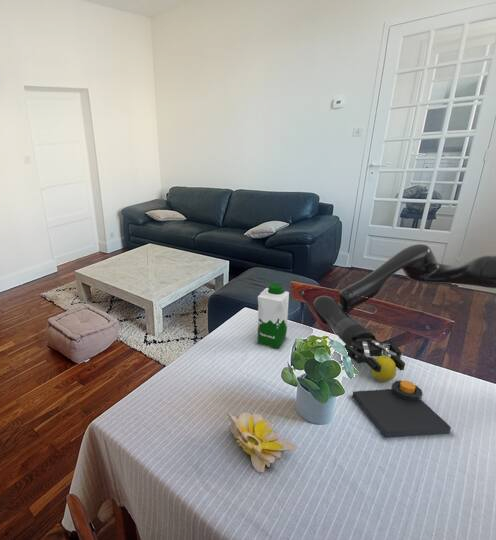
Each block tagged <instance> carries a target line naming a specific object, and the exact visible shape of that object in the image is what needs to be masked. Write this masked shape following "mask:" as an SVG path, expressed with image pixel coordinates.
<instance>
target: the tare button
mask: <svg viewBox="0 0 496 540" xmlns="http://www.w3.org/2000/svg"><path fill="white" fill-rule="evenodd" d="M400 381H401V382H400V387H399V388H400V390H401V391H403V392H406V393H410V394H411V393H414V392H415V385H416V384H415V383H413V382H411V381H408V380H400Z"/></svg>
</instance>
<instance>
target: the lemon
mask: <svg viewBox="0 0 496 540" xmlns="http://www.w3.org/2000/svg"><path fill="white" fill-rule="evenodd" d="M389 357H390V356H389ZM389 357H387V356H375V358H374V359H375V360H376V361H377V362H378V363H379V364H380V365H381V370H380V372H376V371H375V370H373V369H372V368H371V367H370V371H371V373H372V376H373V377H374V378H375V379H377V380H379V381H380V382H390V381H391V380H393V379H394V378H395V376H396V375H397V367H396V365H395V362H394V361H393V360H392V359H391V358H389Z"/></svg>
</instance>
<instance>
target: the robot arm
mask: <svg viewBox="0 0 496 540" xmlns="http://www.w3.org/2000/svg"><path fill="white" fill-rule="evenodd" d="M400 270H402V271H403V273H404V275H405V277H406V278H407V279H409V280H412V281H415V282H423V283H441V284H455V285H464V286H471V287H479V288H485V289H492V290H496V254H494V255H493V254H485V255H481V256H477V257H475V258H472V259H470V260H467V261H465V262H462V263H461V264H444V263H440V262H439V261H438V259H437V258H436V256H435V253H434V252H433V250H432V248H431V247H430V246H429V245H427V244H424V243H423V244H422V243H418V244H417V243H416V244H412V245H409V246H407V247H405V248H402V250H400V251H398V252H397V253H396V254H394V255H393V256H392V257H390V258H389V259H387V260H386V261H385V262H383V263H382V264H381V265H379V266H378V267H377V268H376V269H374V270H373V271H372V272H370V273H369V274H367V275H366V276H365V277H363V278H361V279H359V280H358V281H356V282H354V283H351V284H350V285H348V286H347V287H345V288H343V289H341V290H340V291H338V297H339V298H338V299H339V301H338V302H336V300H335V299H334V298H332V297H331V296H328V295H320V296H317V297H315V299H314V300H313V302H312V308H313V310H314V312H315V314H316V315H317V317H318V318H319V320H320V321H321V322H322V323H323V324H325V325H328V327H329V328H330V329H331V330H332V331H333V332H334V333H335V334H336V335H337V336H338V338H339V339H340V340H341V341H342V342H343V343H344V346H343V348H344V347H345V348H346V350H347V352H348V356H347V357H349V359H351V360H353V361H354V362H355V363H357V364H362V363H364V364H365V365H367V366H368V367H369V368H370V369H371V368H372V369H373V370H375V371H376V372H380V370H381V365H380V364H379V363H378V362H377V361H376V360H375V358H374V357H378V356H387V357H389V358H391V359H392V360H393V361H394V362H395V365H396V369H398V370H399V371H404V370H405V366H406V363H405V361H404V360H402V359H401V358H402V354H403V352H402V351H401V349H400V348H399V347H398V346H397V345H396V344H395V342H394V341H391V340H389V341H387V343H383V342H381V341H380V340H377V338H376V336H375V335H374V334H373V332H371V331H370V330H369V329H368V328H366V327H365V326H364V325H363V324H362V323H360V322H359V321H358V320H357V319H355V318H353V317H352V316H350V313H351V312H352V311H353V310H354V309H355V308H356V307H358V306H360V305H362V304H364V303H366V302H368V301H369V300H368V299H369V298H371V299H373V298H374V297H376V296H377V295H378V294H379V293H380V291H381V290H382V289H383V287H384V286H385V285H386V283H387V282H388V281H389V279H391V278H392V277H393V275H395V274H396V273H397V272H398V271H400ZM345 292H346V293H345ZM353 294H356V295H353ZM358 295H359V296H358ZM361 296H364V297H361ZM365 297H368V298H365ZM363 302H364V303H363ZM348 307H349V308H348ZM345 312H347V313H345Z"/></svg>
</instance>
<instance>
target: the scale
mask: <svg viewBox="0 0 496 540" xmlns="http://www.w3.org/2000/svg"><path fill="white" fill-rule="evenodd" d="M401 381H402V380H395V381H394V382H392V383H391V388H385V389H384V388H383V389H372V390H371V389H370V390H369V389H368V390H357V391H355V390H354V391H352V395H351V398H352V399H353V401H355V403H356V404H357V405H358V406H359V408H360V409H361V410H362V411H363V413H365V415H366V416H367V417H368V418H369V420H370V421H371V422H372V424H374V426H375V427H376V429H378V431H379V432H380V433H381V434H382V436H383V437H384V438H399V437H415V436H416V437H417V436H428V435H429V436H430V435H431V436H432V435H446V434H450V432H451V428H452V426H450V424H448V422H446V421H445V420H444V419H443V418H442V417H441V416H439V414H438V413H437V412H435V411H434V410H433V409H432V408H431V407H430V406H428V405H427V403H425V402H424V401H423V399H422V397H423V389H421V388H420V387H419V386H418V385H417V384H414V385H415V392H414V393H411V394H410V393H406V392H403V391H401V390H400V388H399V387H400V382H401Z"/></svg>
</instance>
